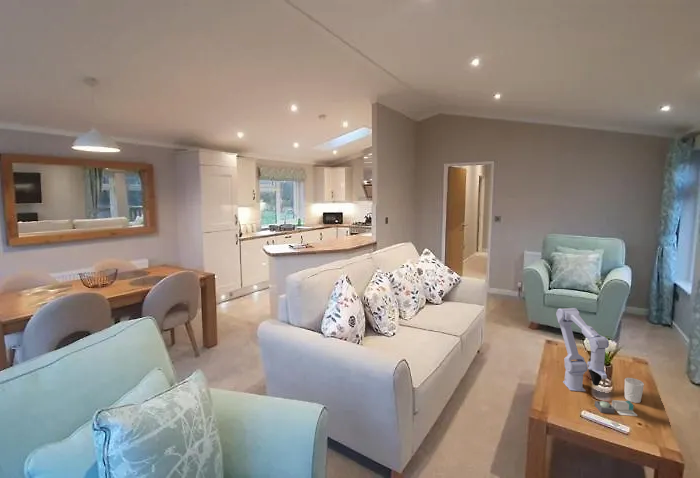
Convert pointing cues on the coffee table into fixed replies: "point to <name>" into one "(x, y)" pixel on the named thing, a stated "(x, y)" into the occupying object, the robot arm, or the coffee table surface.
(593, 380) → the robot arm
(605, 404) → the button
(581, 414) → the coffee table surface
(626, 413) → the paper
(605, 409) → the button housing
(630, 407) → the eraser
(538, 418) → the coffee table surface
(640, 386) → the white cup
